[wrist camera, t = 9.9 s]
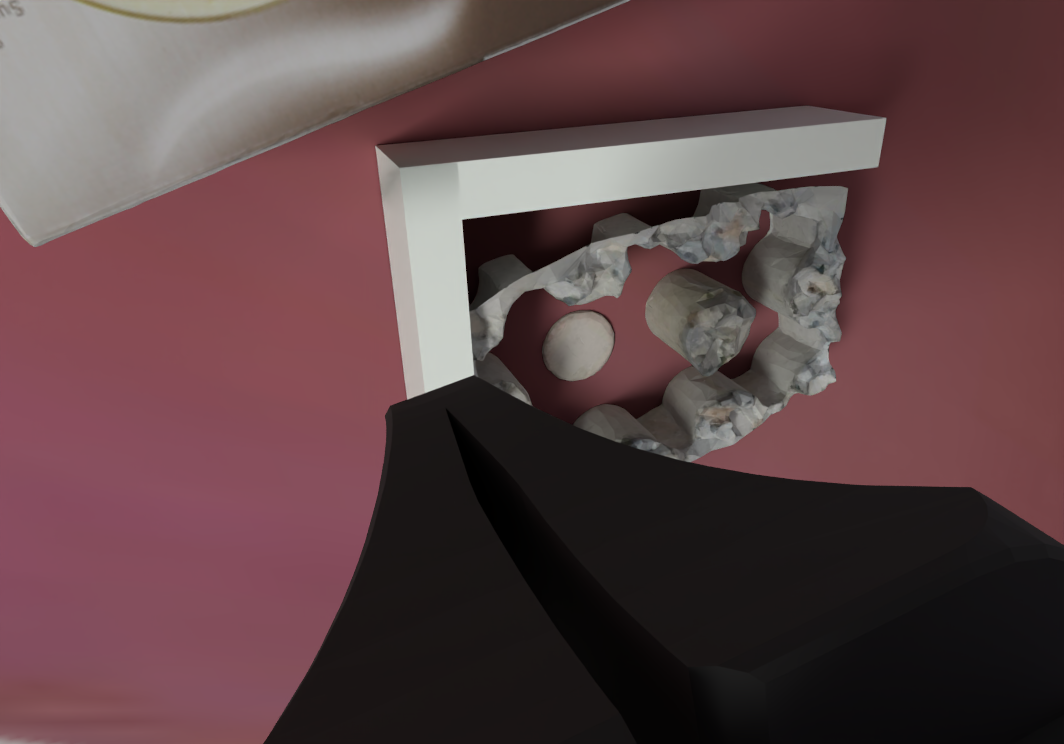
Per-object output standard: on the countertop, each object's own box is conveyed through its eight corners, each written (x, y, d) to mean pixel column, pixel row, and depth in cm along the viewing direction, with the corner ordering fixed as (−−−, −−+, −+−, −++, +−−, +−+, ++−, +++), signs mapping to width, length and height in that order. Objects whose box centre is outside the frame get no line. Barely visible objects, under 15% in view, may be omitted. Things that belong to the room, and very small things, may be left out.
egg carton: (484, 479, 23) (528, 563, 19) (424, 251, 19) (465, 302, 16) (780, 371, 25) (866, 428, 22) (776, 149, 22) (880, 174, 18)
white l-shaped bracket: (807, 105, 21) (886, 117, 18) (748, 579, 29) (798, 634, 26) (375, 145, 17) (399, 167, 15) (441, 674, 25) (465, 747, 23)
